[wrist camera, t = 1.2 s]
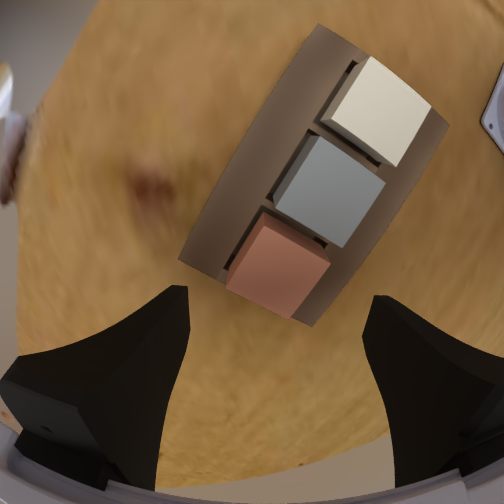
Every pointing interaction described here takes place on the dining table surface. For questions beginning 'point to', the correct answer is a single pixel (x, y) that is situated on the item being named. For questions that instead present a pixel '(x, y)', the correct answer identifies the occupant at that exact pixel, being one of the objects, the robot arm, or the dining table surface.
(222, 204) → the key block
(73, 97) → the dining table surface
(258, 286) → the terracotta key
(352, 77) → the cream key
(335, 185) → the slate key
